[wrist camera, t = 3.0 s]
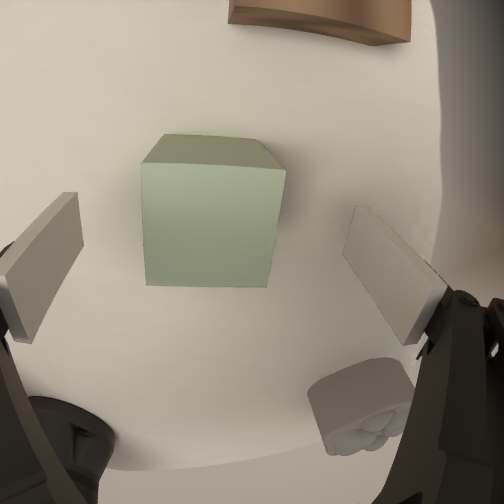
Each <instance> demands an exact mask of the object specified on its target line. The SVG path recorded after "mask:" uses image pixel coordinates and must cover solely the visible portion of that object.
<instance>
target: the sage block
mask: <svg viewBox="0 0 504 504" xmlns="http://www.w3.org/2000/svg"><path fill="white" fill-rule="evenodd" d="M286 171H287V170H286V169H285V168H284V167H283V166H282V165H281V164H280V163H279V162H278V161H277V160H276V159H275V158H274V157H273V156H272V155H271V154H270V153H269V152H268V151H267V150H266V149H265V148H264V147H263V146H262V145H261V144H260V143H259V142H258V141H257V140H256V139H247V138H234V137H220V136H202V135H175V134H164V135H163V136H162V137H161V139H160V140H159V141H158V142H157V144H156V145H155V146H154V147H153V149H152V150H151V151H150V153H149V154H148V155H147V156H146V158H145V159H144V160H143V162H142V225H143V247H144V263H145V276H146V285H152V286H188V287H267V284H268V279H269V273H270V267H271V262H272V256H273V250H274V244H275V238H276V232H277V226H278V220H279V214H280V208H281V202H282V196H283V189H284V183H285V177H286Z"/></svg>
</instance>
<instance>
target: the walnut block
mask: <svg viewBox="0 0 504 504" xmlns="http://www.w3.org/2000/svg"><path fill="white" fill-rule="evenodd" d="M228 24H244V25H257V26H268V27H277V28H285V29H292V30H299V31H305V32H311V33H317V34H322V35H327V36H332V37H337V38H341V39H346V40H350V41H354V42H358V43H362V44H366V45H370V46H377V45H385V44H395V43H406V42H410V40H411V0H230V1H229V14H228Z"/></svg>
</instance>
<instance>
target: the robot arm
mask: <svg viewBox="0 0 504 504" xmlns="http://www.w3.org/2000/svg"><path fill="white" fill-rule="evenodd" d="M83 246H84V242H83V235H82V228H81V220H80V212H79V202H78V192H63V193H62V194H61V195H60V196H59V197H58V198H57V199H56V200H55V201H54V202H53V203H52V204H51V205H49V206H48V207H47V208H46V209H45V210H44V211H43V212H42V213H41V214H40V215H39V216H38V217H37V218H36V219H35V220H34V221H33V222H32V224H31V225H30V226H29V227H28V228H27V229H26V230H25V231H24V232H23V233H22V234H21V235H20V236H19V237H18V238H17V240H16V241H14V242H12V243H11V244H9V245H8V246H6V247H5V248H4V249H3V250H2V251H1V252H0V504H97V503H98V487H99V480H100V478H101V476H102V474H103V472H104V470H105V468H106V466H107V464H108V462H109V460H110V458H111V456H112V454H113V451H114V442H115V436H114V433H113V431H112V430H111V429H110V428H109V427H108V426H107V425H106V424H105V423H104V422H102V421H101V420H100V419H98V418H97V417H95V416H93V415H92V414H90V413H88V412H86V411H84V410H82V409H80V408H77V407H75V406H73V405H70V404H67V403H64V402H61V401H58V400H54V399H50V398H44V397H29V398H28V397H27V395H26V392H25V390H24V387H23V385H22V382H21V380H20V377H19V375H18V372H17V369H16V366H15V364H14V361H13V358H12V355H11V352H10V349H9V346H8V343H7V341H6V339H5V337H4V336H5V334H6V332H7V330H8V329H9V331H10V333H11V335H12V337H13V339H14V341H16V342H22V343H27V344H32V342H33V340H34V337H35V335H36V333H37V331H38V329H39V327H40V325H41V323H42V320H43V318H44V316H45V314H46V312H47V310H48V308H49V307H50V305H51V303H52V301H53V299H54V297H55V295H56V293H57V291H58V289H59V288H60V286H61V284H62V282H63V280H64V279H65V277H66V275H67V273H68V271H69V270H70V268H71V266H72V265H73V263H74V261H75V259H76V258H77V256H78V254H79V253H80V251H81V249H82V248H83ZM342 255H343V256H344V258H345V259H346V260H347V262H348V263H349V265H350V266H351V268H352V269H353V270H354V272H355V273H356V275H357V276H358V278H359V279H360V281H361V282H362V284H363V285H364V287H365V288H366V290H367V291H368V293H369V294H370V296H371V297H372V299H373V300H374V302H375V303H376V305H377V306H378V308H379V309H380V311H381V312H382V314H383V316H384V317H385V319H386V320H387V322H388V323H389V325H390V326H391V328H392V330H393V331H394V333H395V334H396V336H397V338H398V339H399V341H400V343H401V344H402V346H404V345H411V344H417V343H418V341H419V340H420V338H421V336H422V334H423V333H424V332H425V333H426V335H427V336H428V337H429V338H428V339H427V341H426V343H425V344H424V346H423V348H422V349H421V351H420V353H419V354H418V356H417V358H416V359H417V360H418V359H419V358H420V356H422V360H421V365H420V370H419V375H418V379H417V383H416V387H415V392H414V396H413V400H412V403H411V407H410V411H409V414H408V418H407V421H406V425H405V428H404V431H403V435H402V438H401V441H400V444H399V447H398V450H397V453H396V456H395V459H394V461H393V464H392V467H391V470H390V472H389V475H388V478H387V480H386V483H385V485H384V487H383V489H382V491H381V493H380V494H379V495H378V496H377V498H376V499H375V500H374V501H373V502H372V504H504V300H502V299H499V298H493V299H492V301H491V302H490V304H489V306H488V308H486V307H481V306H480V304H479V302H478V300H476V298H475V297H473V296H472V295H471V294H469V293H467V292H465V291H462V290H456V291H453V290H452V289H451V288H450V286H449V285H448V284H447V283H446V282H445V281H444V280H443V279H442V278H441V277H440V276H439V275H437V273H436V271H435V270H434V269H432V267H431V266H430V265H429V264H428V263H427V262H426V261H425V260H423V259H422V258H421V257H420V256H419V255H418V254H417V253H416V252H415V251H414V250H413V249H412V248H411V247H410V246H409V245H408V244H407V243H406V242H405V241H404V240H403V239H402V238H401V237H400V236H399V235H398V234H397V233H396V232H395V231H394V230H393V229H392V228H390V227H389V226H388V225H387V224H386V223H385V222H384V221H383V220H382V219H381V218H380V217H379V216H378V215H376V214H375V213H374V212H373V211H372V210H371V209H370V208H369V207H360V206H356V207H355V211H354V215H353V218H352V222H351V226H350V230H349V233H348V237H347V240H346V244H345V247H344V251H343V254H342ZM497 343H498V345H499V347H498V352H497V353H496V354H495V356H494V357H492V355H491V352H492V351H493V349H494V348H495V346H496V345H497Z"/></svg>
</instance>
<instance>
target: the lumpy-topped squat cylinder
mask: <svg viewBox="0 0 504 504" xmlns="http://www.w3.org/2000/svg"><path fill="white" fill-rule="evenodd" d="M414 392H415V388H414V386H413V384H412V382H411V381H410V379H409V377H408V375H407V374H406V372H405V370H404V369H403V367H402V365H401V364H400V362H399V361H398V360H396V359H393V358H377V359H370V360H367V361H364V362H361V363H358V364H355V365H353V366H350V367H348V368H345V369H343V370H340V371H338V372H336V373H334V374H331V375H329V376H327V377H325V378H323V379H321V380H319V381H318V382H316V383H315V384H314V385H312V386H311V387H310V389H309V390H308V393H307V395H308V398H309V401H310V404H311V407H312V410H313V413H314V416H315V419H316V422H317V425H318V428H319V431H320V434H321V437H322V440H323V443H324V446H325V449H326V452H327V454H328V455H341V456H348V455H351V454H354V453H356V452H358V451H360V450H362V449H364V450H366V451H375V450H377V449H379V448H381V447H382V446H383V445H384V444H385V443H386V441H387V440H388V438H389V437H395V436H398V435H400V434H401V433H403V431H404V428H405V425H406V421H407V418H408V414H409V411H410V407H411V403H412V400H413V396H414Z"/></svg>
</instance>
